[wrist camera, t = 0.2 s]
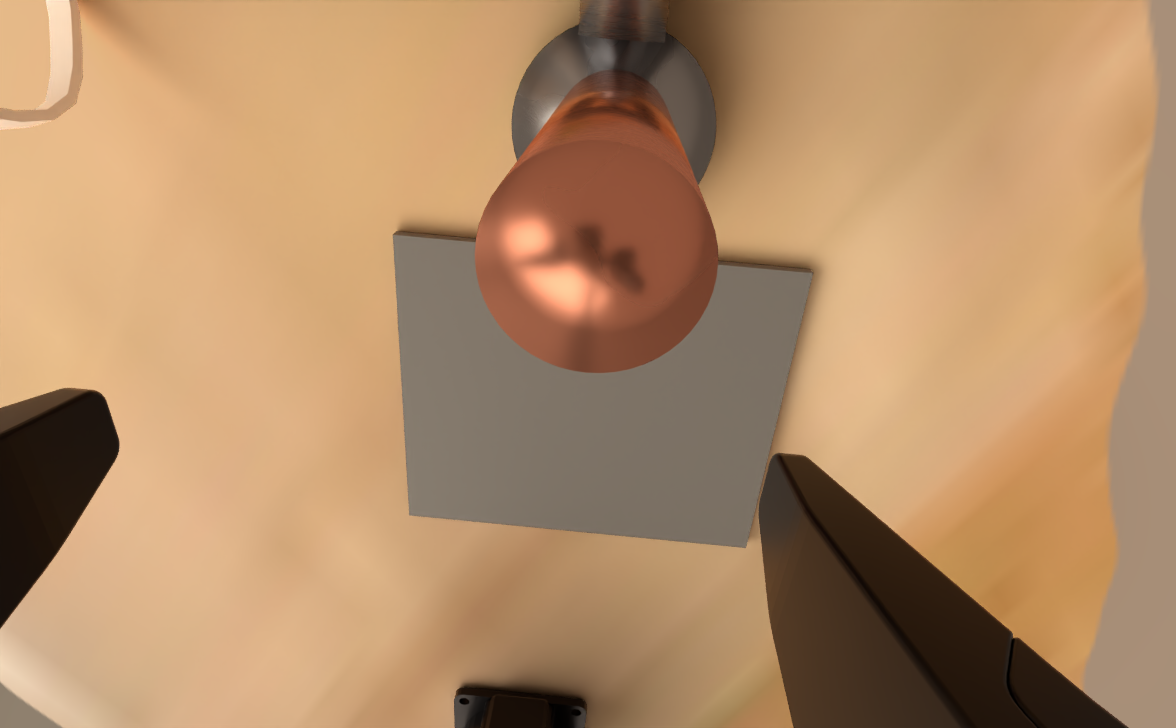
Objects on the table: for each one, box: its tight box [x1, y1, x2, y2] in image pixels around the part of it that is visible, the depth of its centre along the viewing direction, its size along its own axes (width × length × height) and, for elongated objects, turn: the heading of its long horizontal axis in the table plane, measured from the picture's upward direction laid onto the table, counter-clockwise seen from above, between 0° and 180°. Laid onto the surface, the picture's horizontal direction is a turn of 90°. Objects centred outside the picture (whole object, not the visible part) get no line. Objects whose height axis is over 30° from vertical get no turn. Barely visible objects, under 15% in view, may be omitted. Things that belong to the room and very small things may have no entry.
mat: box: [393, 231, 813, 548], centre depth 25 cm, size 12×14×1 cm
